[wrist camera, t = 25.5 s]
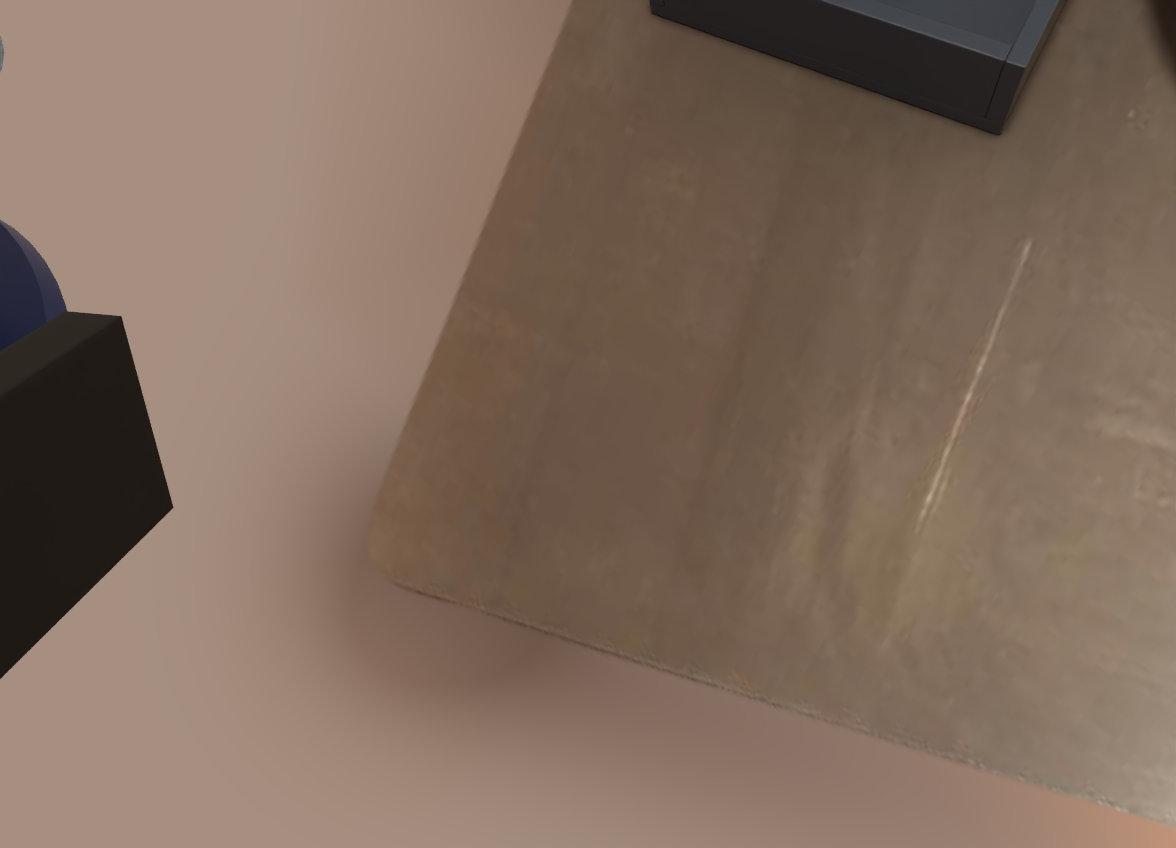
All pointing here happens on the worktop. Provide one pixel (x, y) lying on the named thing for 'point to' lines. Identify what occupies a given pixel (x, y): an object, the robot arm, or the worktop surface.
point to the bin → (895, 45)
